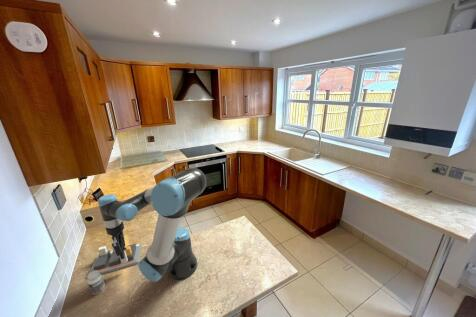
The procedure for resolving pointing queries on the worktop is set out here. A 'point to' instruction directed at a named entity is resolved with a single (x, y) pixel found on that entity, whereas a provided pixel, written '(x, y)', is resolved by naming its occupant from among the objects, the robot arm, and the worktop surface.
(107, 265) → the panel
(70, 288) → the worktop surface
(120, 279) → the worktop surface
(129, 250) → the block
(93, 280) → the pill bottle
